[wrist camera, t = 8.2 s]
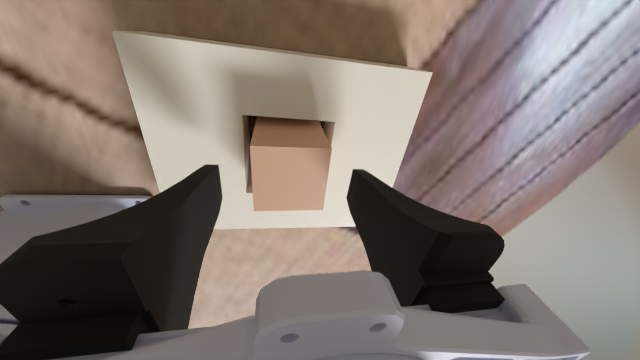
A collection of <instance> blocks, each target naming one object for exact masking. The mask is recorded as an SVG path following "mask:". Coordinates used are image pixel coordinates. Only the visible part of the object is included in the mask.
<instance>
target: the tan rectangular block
mask: <svg viewBox="0 0 640 360" xmlns="http://www.w3.org/2000/svg"><path fill="white" fill-rule="evenodd" d="M331 152H332V148H331V145H330V143H329V141H328V139H327V137H326V135H325V133H324V131H323V129H322V127H321V124H320V122H319V121H317V120H304V119H291V118H277V117H264V116H257V118H256V122H255V127H254V131H253V135H252V139H251V143H250V157H251V174H252V191H253V207H254V211H294V210H323V207H324V200H325V193H326V186H327V180H328V173H329V166H330V159H331Z"/></svg>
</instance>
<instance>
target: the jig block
mask: <svg viewBox="0 0 640 360" xmlns="http://www.w3.org/2000/svg"><path fill="white" fill-rule="evenodd" d="M112 33H113V37H114V40H115V43H116V47H117V50H118V53H119V57H120V60H121V64H122V67H123V70H124V74H125V77H126V80H127V84H128V87H129V90H130V94H131V97H132V101H133V104H134V107H135V111H136V114H137V117H138V121H139V124H140V127H141V131H142V134H143V138H144V141H145V144H146V148H147V151H148V154H149V158H150V161H151V164H152V168H153V171H154V175H155V178H156V181H157V185H158V188H159V191H160V193H161V192H163V191H165V190H166V189H168V188H170V187H171V186H173V185H175V184H176V183H178V182H180V181H181V180H183V179H184V178H186V177H187V176H189V175H190V174H192V173H193V172H195V171H196V170H198V169H199V168H201V167H202V166H204V165H206V164H209V165H219V172H220V180H221V189H222V197H223V198H222V203H221V208H220V212H219V216H218V218H217V221H216V224H215V227H214V229H248V228H300V227H352V226H356V225H355V223H354V221H353V218H352V216H351V213H350V210H349V207H348V202H347V198H346V197H347V193H348V189H349V184H350V180H351V176H352V171H353V169H364V170H366V171H367V172H369V173H371V174H372V175H374V176H375V177H377V178H378V179H380V180H381V181H383V182H384V183H386V184H387V185H389V186H390V187H393V184H394V182H395V179H396V176H397V173H398V170H399V167H400V164H401V162H402V159H403V156H404V153H405V150H406V147H407V144H408V142H409V139H410V136H411V133H412V130H413V127H414V124H415V122H416V119H417V116H418V113H419V110H420V107H421V105H422V102H423V99H424V96H425V93H426V90H427V87H428V85H429V82H430V79H431V76H432V72H428V71H424V70H420V69H416V68H412V67H408V66H401V65H393V64H386V63H378V62H371V61H363V60H356V59H348V58H341V57H333V56H326V55H318V54H311V53H303V52H296V51H288V50H281V49H273V48H266V47H258V46H251V45H243V44H236V43H228V42H221V41H213V40H206V39H198V38H191V37H183V36H176V35H168V34H161V33H153V32H146V31H112ZM248 115H251V116H264V117H277V118H291V119H304V120H317V121H324V129H323V131H324V133H325V135H326V137H327V139H328V141H329V143H330V145H331V148H332V152H331V159H330V166H329V173H328V180H327V186H326V193H325V200H324V207H323V210H294V211H254V207H253V191H252V174H251V168H250V143H249V118H248Z"/></svg>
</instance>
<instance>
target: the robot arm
mask: <svg viewBox="0 0 640 360" xmlns="http://www.w3.org/2000/svg"><path fill="white" fill-rule="evenodd" d="M222 198H223V197H222V189H221V180H220V172H219V165H209V164H206V165H204V166H202V167H201V168H199V169H198V170H196V171H195V172H193V173H192V174H190V175H189V176H187V177H186V178H184V179H183V180H181V181H180V182H178V183H176V184H175V185H173V186H171V187H170V188H168V189H166V190H165V191H163V192H161V193H159V194H157V195H155V196H153V197H150V196H135V195H4V196H2V197H1V198H0V205H1V206H2V208H3V209H4V210H3V211H2V212H0V360H579V359H580V358H582V357H583V356H585V355H587V354H588V353H590V348H589V347H588V346H586V344H585V343H584V342H583V341H582V340H581V339H580V338H579V337H578V336H577V335H576V334H575V333H573V331H572V330H571V329H570V328H569V327H568V326H566V324H565V323H564V322H563V321H562V320H561V319H560V318H558V316H557V315H556V314H555V313H553V312H552V310H550V308H549V307H548V306H547V305H546V304H545V303H544V302H543V301H542V300H541V299H540V298H539V297H538V296H537V295H536V294H535V293H534V292H533V291H532V290H531V289H530V288H529V287H527V285H525V284H518V285H507V286H502V287H500V288H498V289H496V288H495V287H494V286H493V285H492V283H491V282H492V281H493V280H494V278H493V277H492V275H491V274H490V273H489V272H488V271H489V270H490V268H491V267H492V266H493V264H494V263H495V262H496V261H497V259H498V258H499V257H500V255H501V254H502V252H503V249H504V240H503V239H502V237H501V236H500V235H499V234H498V233H496V232H495V231H494V230H493V229H492V228H491V227H490V226H488V225H484V224H480V223H476V222H472V221H468V220H464V219H461V218H458V217H455V216H452V215H449V214H446V213H443V212H440V211H438V210H435V209H433V208H430V207H428V206H425V205H423V204H421V203H419V202H417V201H415V200H413V199H411V198H409V197H407V196H405V195H403V194H402V193H400V192H398V191H397V190H395V189H393V188H392V187H390V186H389V185H387V184H386V183H384V182H383V181H381V180H380V179H378V178H377V177H375V176H374V175H372V174H371V173H369V172H367V171H366V170H364V169H353V171H352V176H351V180H350V184H349V189H348V193H347V197H346V198H347V202H348V207H349V210H350V213H351V216H352V218H353V221H354V223H355V225H356V228H357V230H358V232H359V235H360V237H361V239H362V242H363V244H364V247H365V249H366V253H367V256H368V259H369V263H370V266H371V270H372V271H349V272H334V273H318V274H303V275H291V276H287V277H282V278H278V279H275V280H274V281H272V282H271V283H269V284H268V285H266V286H265V287H263V288H262V289H261V290H260V292H259V295H258V297H257V299H256V311H255V315H252V316H248V317H245V318H242V319H238V320H235V321H231V322H228V323H224V324H221V325H217V326H213V327H204V328H194V329H188V325H189V320H190V315H191V310H192V305H193V300H194V295H195V291H196V286H197V282H198V277H199V273H200V269H201V265H202V261H203V257H204V254H205V251H206V248H207V245H208V242H209V240H210V237H211V234H212V232H213V229H214V227H215V224H216V221H217V218H218V216H219V212H220V208H221V203H222ZM138 201H140V202H141V203H139V202H138Z"/></svg>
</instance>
